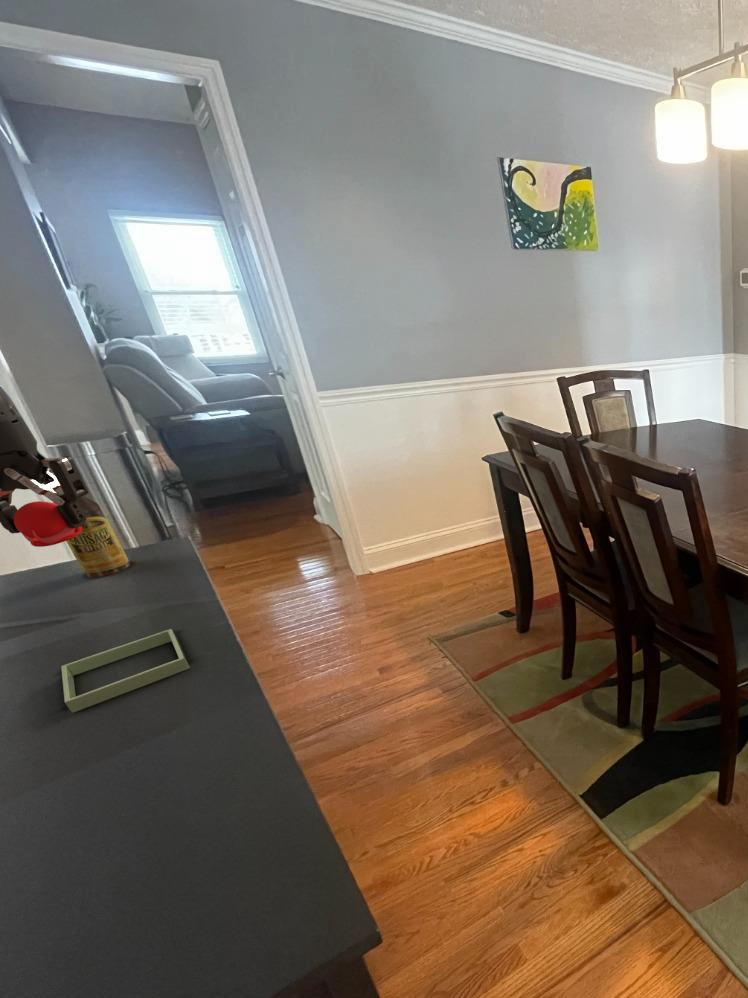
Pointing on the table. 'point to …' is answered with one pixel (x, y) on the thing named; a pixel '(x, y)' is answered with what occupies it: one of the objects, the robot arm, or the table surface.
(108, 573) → the sauce bottle
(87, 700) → the frame
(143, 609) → the table surface
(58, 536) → the cap
